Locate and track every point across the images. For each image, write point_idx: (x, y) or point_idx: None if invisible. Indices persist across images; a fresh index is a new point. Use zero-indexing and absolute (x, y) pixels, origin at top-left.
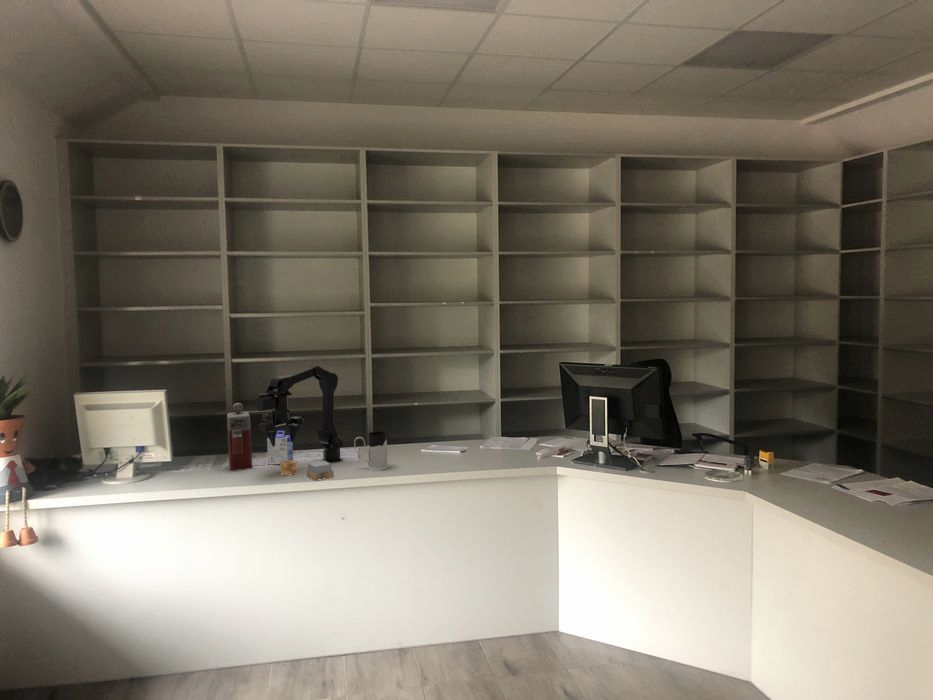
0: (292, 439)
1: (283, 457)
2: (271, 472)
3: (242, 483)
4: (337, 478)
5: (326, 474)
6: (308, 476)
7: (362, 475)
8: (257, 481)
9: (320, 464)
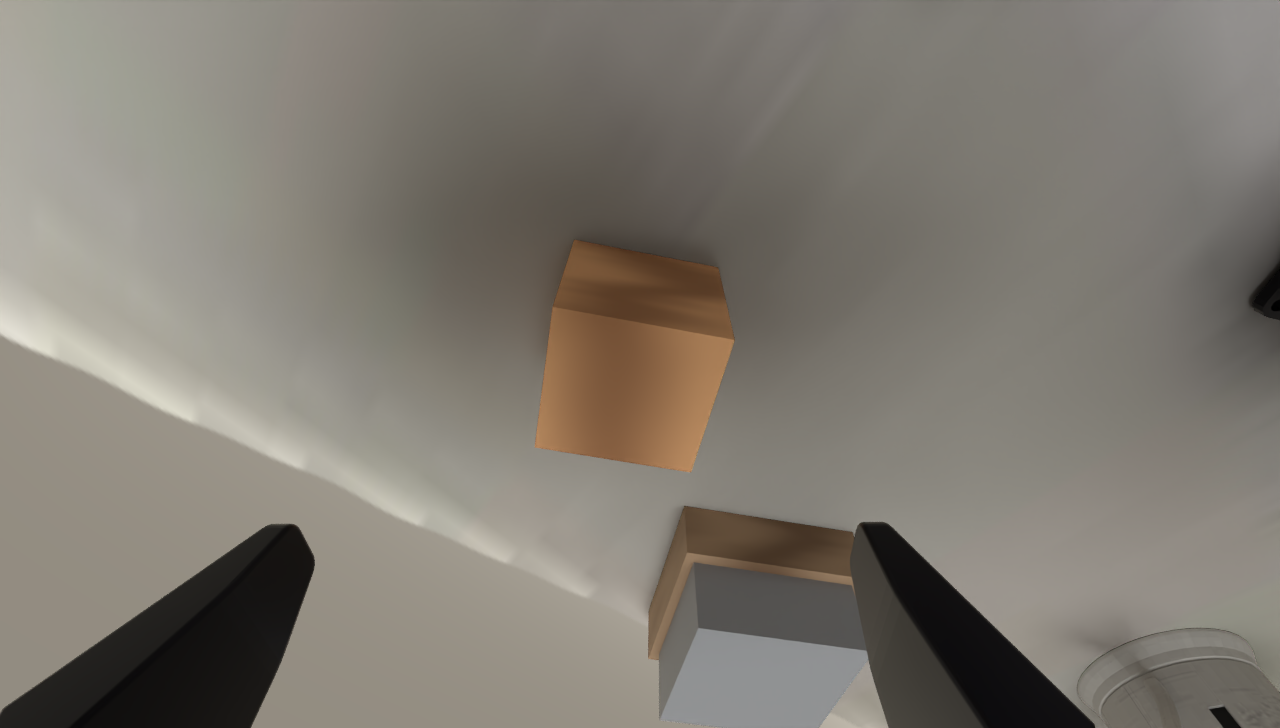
0: (866, 637)
1: None
2: (517, 90)
3: (61, 246)
4: None
5: None
6: (677, 535)
7: None
8: (238, 305)
9: (742, 705)
